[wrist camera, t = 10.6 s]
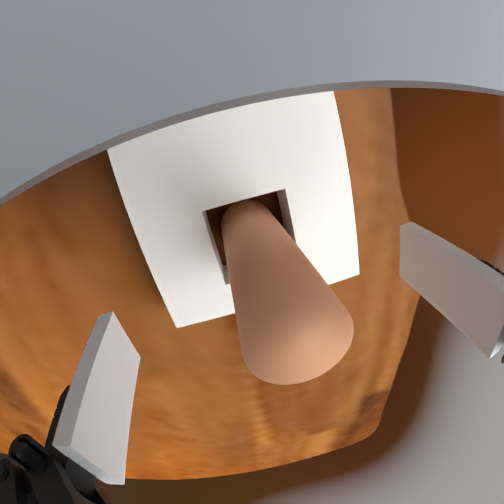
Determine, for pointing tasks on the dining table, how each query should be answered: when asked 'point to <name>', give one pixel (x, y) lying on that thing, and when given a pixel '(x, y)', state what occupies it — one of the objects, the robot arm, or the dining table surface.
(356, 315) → the dining table surface
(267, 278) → the peg
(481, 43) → the socket board
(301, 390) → the dining table surface
